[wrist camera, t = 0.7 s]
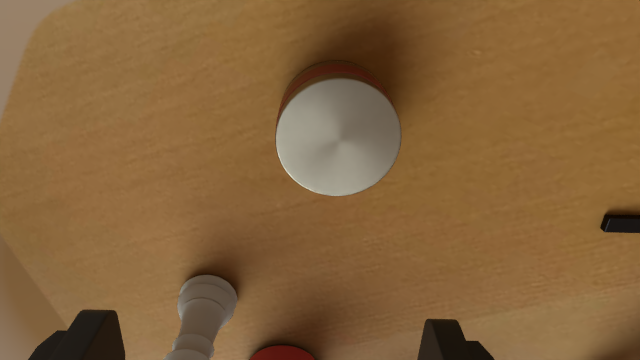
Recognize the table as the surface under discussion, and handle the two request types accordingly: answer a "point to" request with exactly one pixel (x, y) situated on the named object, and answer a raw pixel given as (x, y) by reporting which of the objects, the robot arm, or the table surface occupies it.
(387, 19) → the table surface
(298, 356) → the beer can
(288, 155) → the tin can
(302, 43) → the table surface
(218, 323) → the rook chess piece
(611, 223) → the spoon
